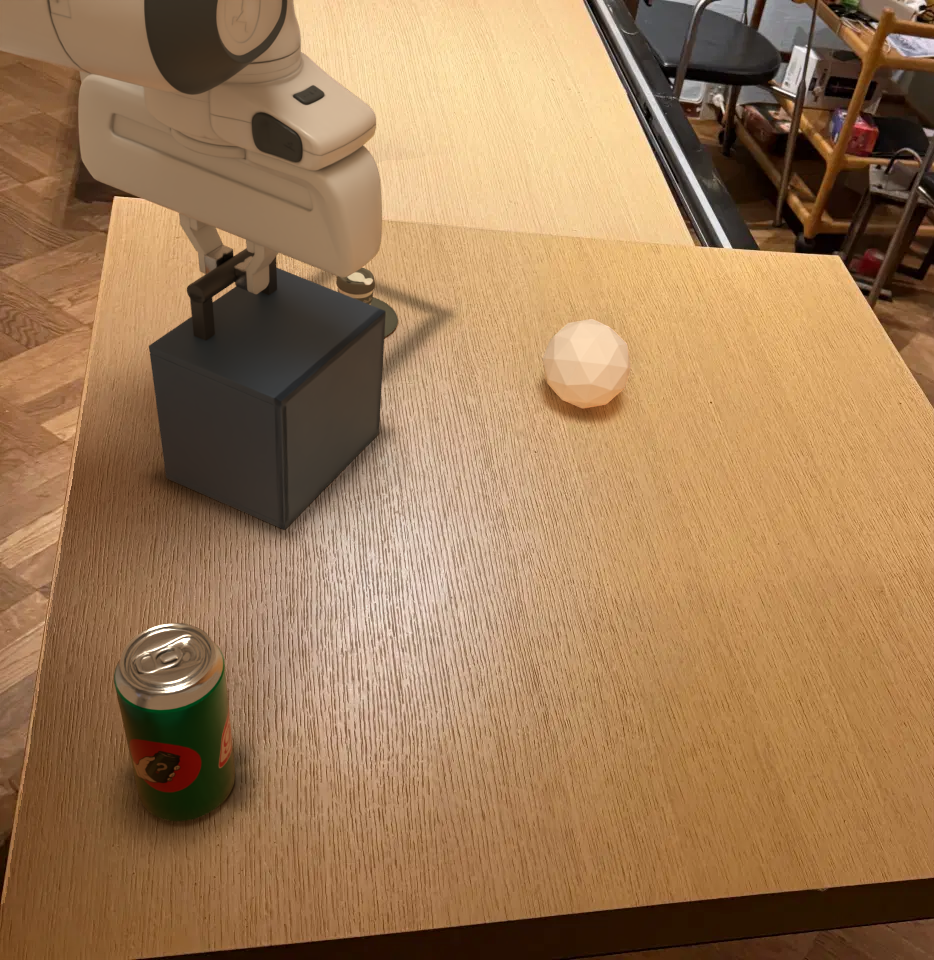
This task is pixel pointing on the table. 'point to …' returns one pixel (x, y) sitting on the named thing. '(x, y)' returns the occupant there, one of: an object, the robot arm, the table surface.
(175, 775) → the soda can
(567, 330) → the geometric ball
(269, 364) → the handled storage box
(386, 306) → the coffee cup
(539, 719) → the table surface
